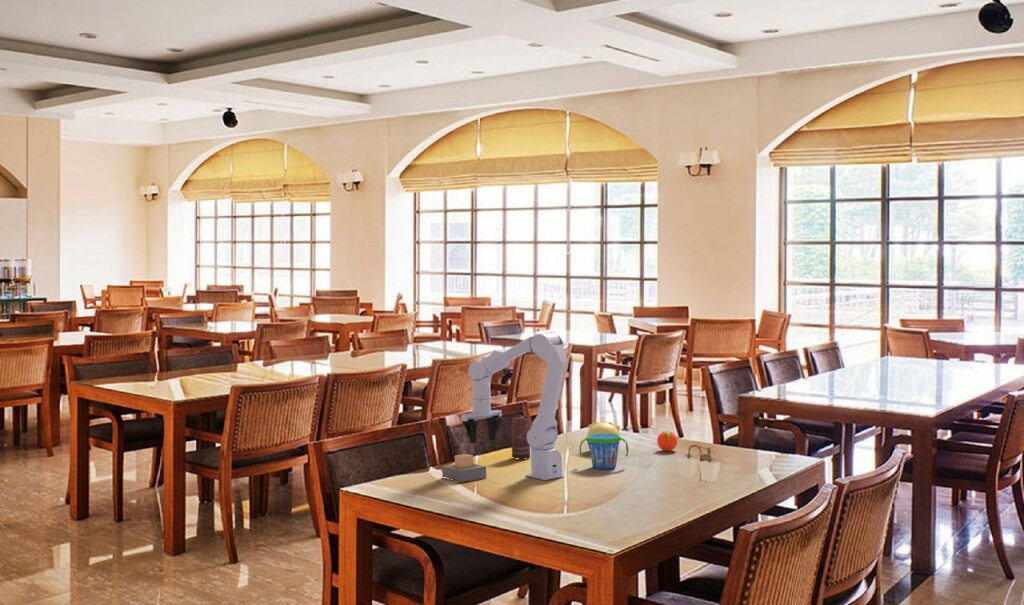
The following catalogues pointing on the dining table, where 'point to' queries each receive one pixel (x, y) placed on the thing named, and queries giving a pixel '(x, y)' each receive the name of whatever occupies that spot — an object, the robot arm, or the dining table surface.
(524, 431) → the can
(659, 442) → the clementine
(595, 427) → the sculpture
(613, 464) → the snack cup
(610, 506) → the dining table surface
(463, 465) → the plug
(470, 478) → the socket
